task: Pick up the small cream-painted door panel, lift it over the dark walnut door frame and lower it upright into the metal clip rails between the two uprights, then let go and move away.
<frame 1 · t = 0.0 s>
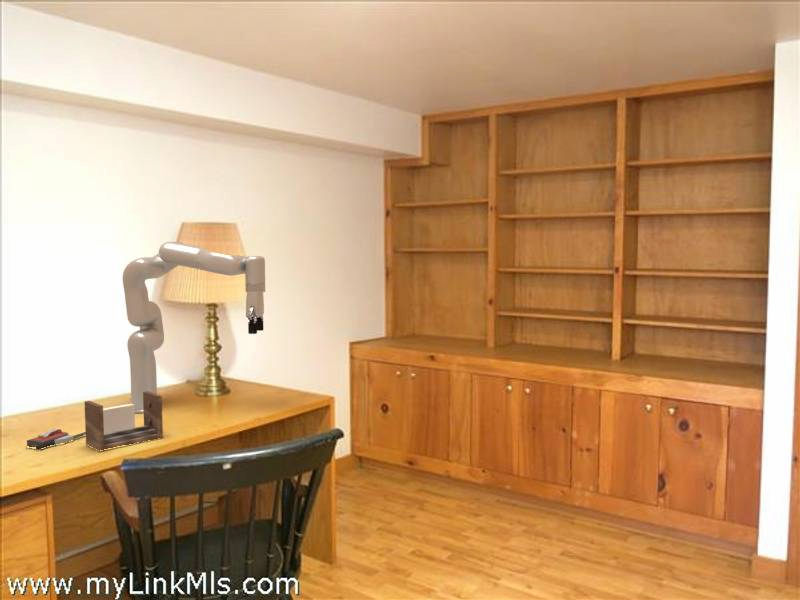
hand: (256, 332, 259), 31 cm above the table, tool pointing down, fingers open, 9 cm apart
door frame: (125, 441, 220), on the table
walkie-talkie: (58, 443, 220), on the table
door panel: (113, 433, 230), on the table
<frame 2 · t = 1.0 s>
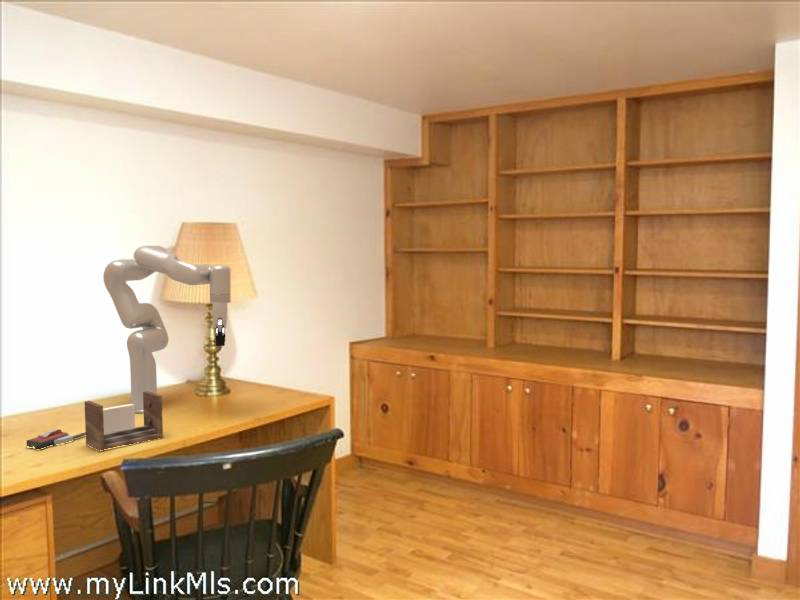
hand: (220, 343, 251), 28 cm above the table, tool pointing down, fingers open, 9 cm apart
nothing on the table moved.
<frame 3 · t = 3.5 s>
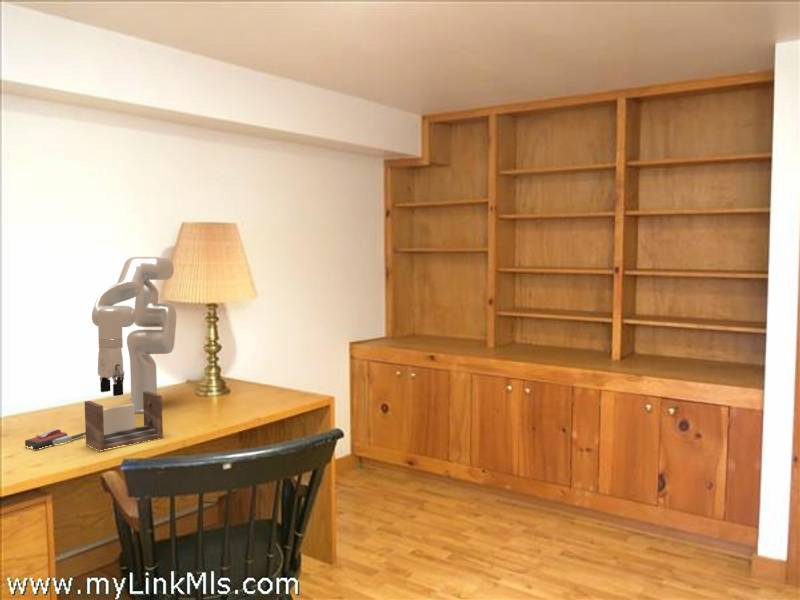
hand: (111, 393, 228), 14 cm above the table, tool pointing down, fingers open, 9 cm apart
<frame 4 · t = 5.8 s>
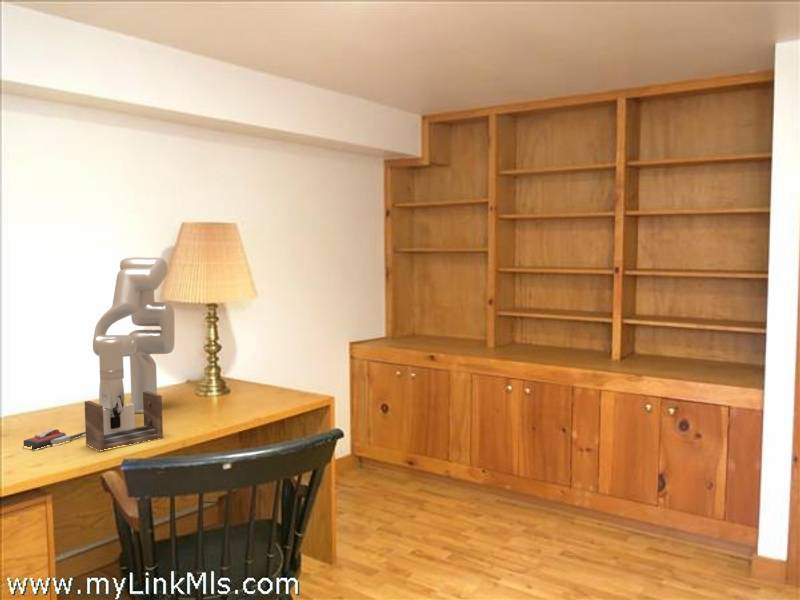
hand: (113, 426, 230), 2 cm above the table, tool pointing down, fingers closed on door panel, 2 cm apart
door panel: (113, 433, 230), on the table, touching gripper
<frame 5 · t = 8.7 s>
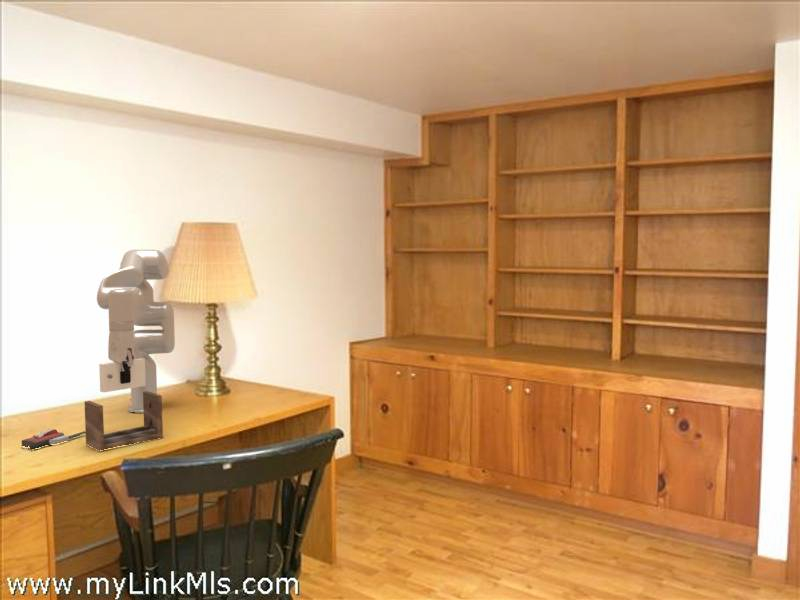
hand: (123, 381, 218), 20 cm above the table, tool pointing down, fingers closed on door panel, 2 cm apart
door panel: (123, 388, 218), point 18 cm above the table, touching gripper
when the fingers open (5 cm above the table, at t = 11.6 s): door panel stays where it is, resting on door frame.
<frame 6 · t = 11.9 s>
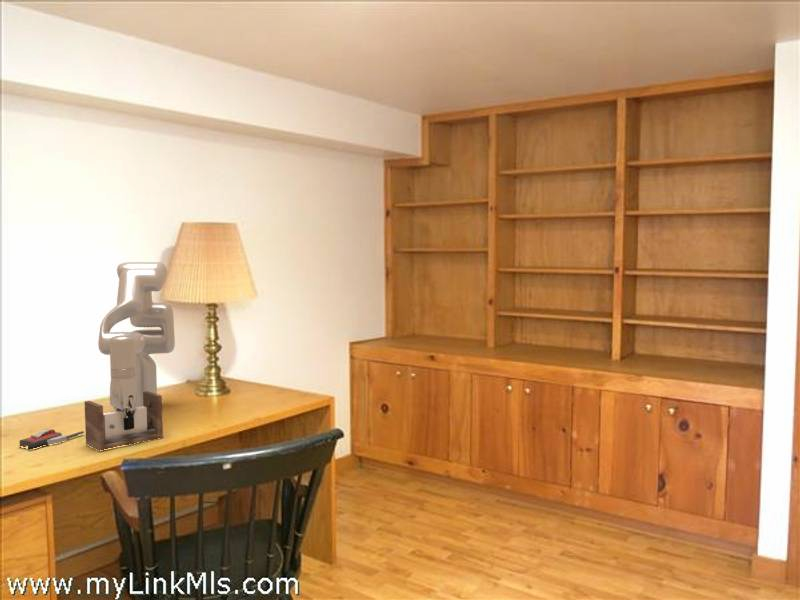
hand: (124, 426, 220), 5 cm above the table, tool pointing down, fingers open, 5 cm apart
door panel: (125, 437, 220), point 2 cm above the table, touching door frame
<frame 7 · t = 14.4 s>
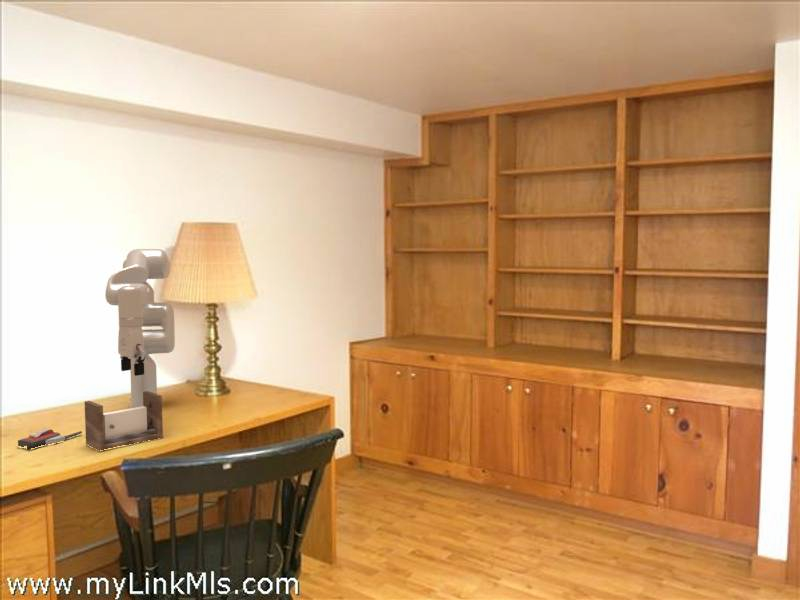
hand: (132, 372, 226), 22 cm above the table, tool pointing down, fingers open, 9 cm apart
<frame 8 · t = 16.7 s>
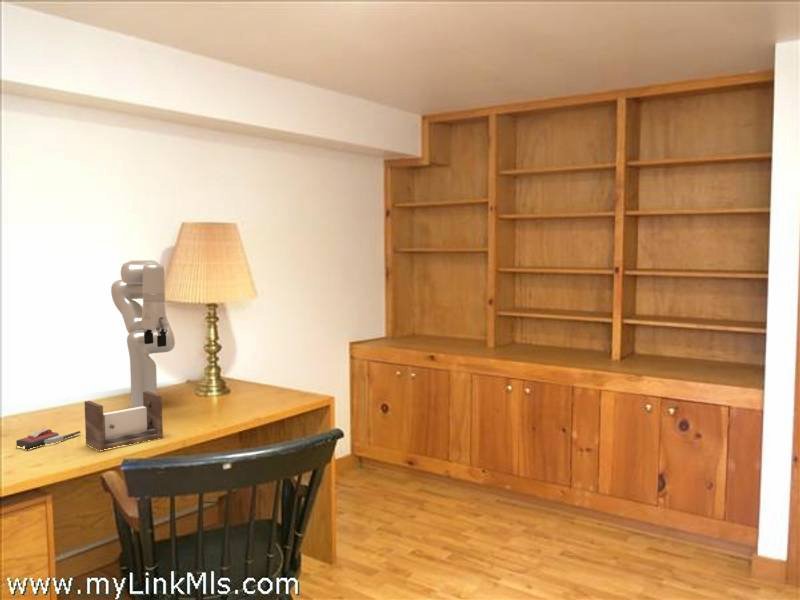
hand: (155, 345, 244), 28 cm above the table, tool pointing down, fingers open, 9 cm apart
at the end: door panel 0.0 cm off-centre on the door frame, point 1.5 cm above the door frame's base; door panel tilted 0°; the gripper is holding nothing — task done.
